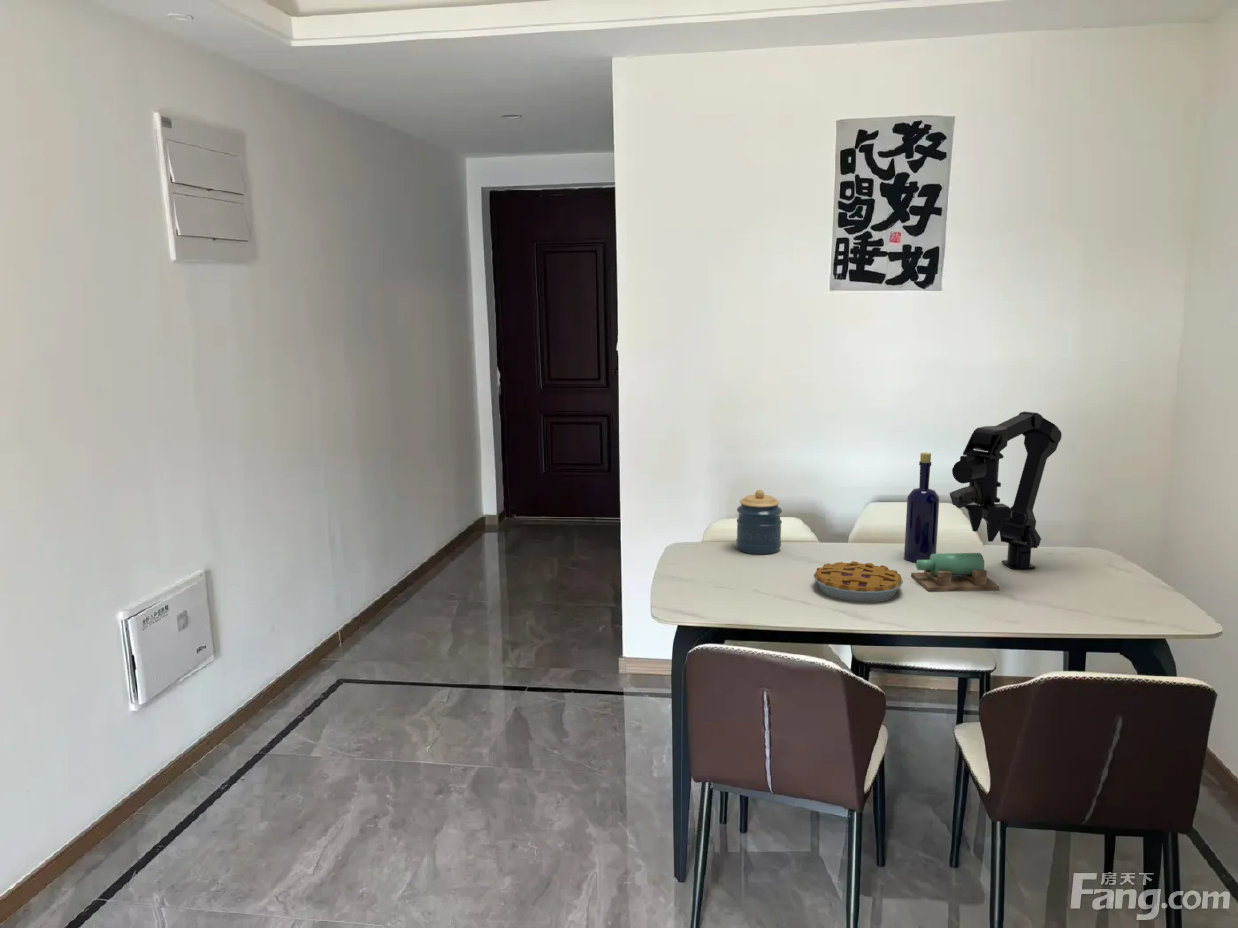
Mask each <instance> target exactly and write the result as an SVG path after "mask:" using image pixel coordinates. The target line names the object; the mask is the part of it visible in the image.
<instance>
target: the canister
mask: <svg viewBox="0 0 1238 928" xmlns="http://www.w3.org/2000/svg"><path fill="white" fill-rule="evenodd" d="M739 503H740V505H739V506H737V508H736V511H737V512H738V516H737V519H736V522H737V523H736V526H737V528H736V542H735V543H736V544H735V545H736V547H737V549H738V551H740V552H743V553H745V554H751V555H771V554H775V553H777V552H779V551H780V550H781V546H782V540H781V539H782V537H781V536H782V523H783V521H782V520H781V514H782V512H783V509H782V508H781V507H779V504H780V501H779V500H778V499H776V498H775V497H774V496H772V495H768V494H765V492H764V491H763V490H762V489H757V490H755V492H754V494H749V495H746V496H744V498H741V499H740V500H739Z"/></svg>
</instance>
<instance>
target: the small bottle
mask: <svg viewBox="0 0 1238 928" xmlns="http://www.w3.org/2000/svg"><path fill="white" fill-rule="evenodd" d="M915 567H916V570H917V571H924V570H930V571H931V574H932V575H933V576H937V571H950V572H951V575H972V572H973V570H985V559H984V557H983V554H982V553H980V552H955V553H954V552H953V553H949V552H948V553H936V554H931V556H930V559H929V560H917V561H916V563H915Z"/></svg>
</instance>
